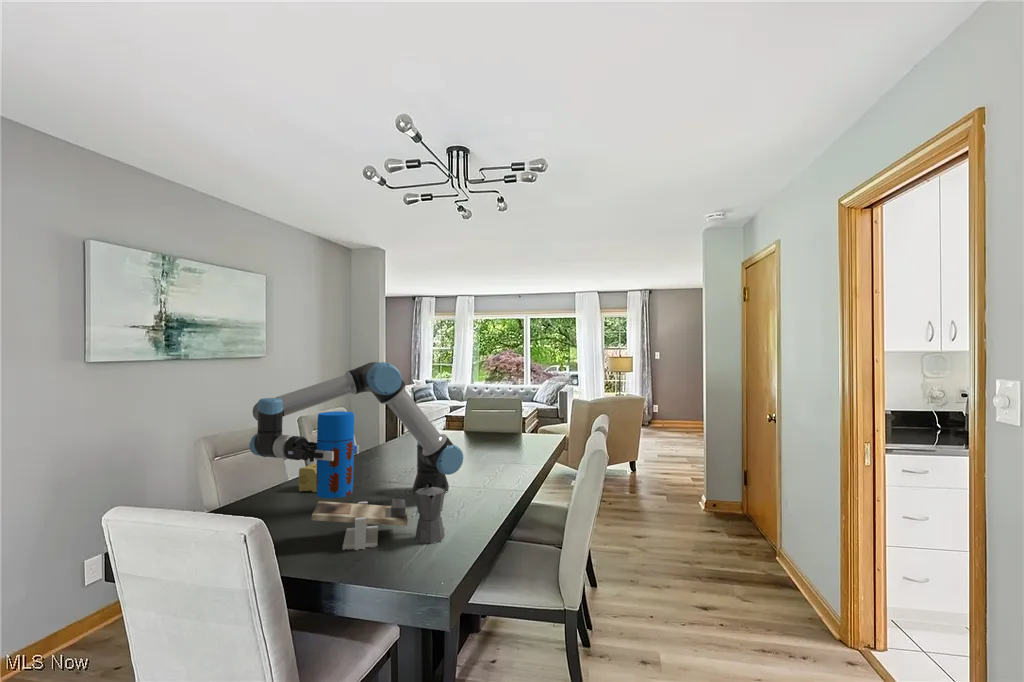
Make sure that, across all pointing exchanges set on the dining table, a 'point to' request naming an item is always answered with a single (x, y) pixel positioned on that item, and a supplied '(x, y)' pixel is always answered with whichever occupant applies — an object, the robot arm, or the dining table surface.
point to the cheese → (308, 478)
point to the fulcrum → (361, 534)
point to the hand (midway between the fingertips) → (346, 452)
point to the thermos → (335, 454)
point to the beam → (362, 512)
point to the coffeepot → (429, 514)
